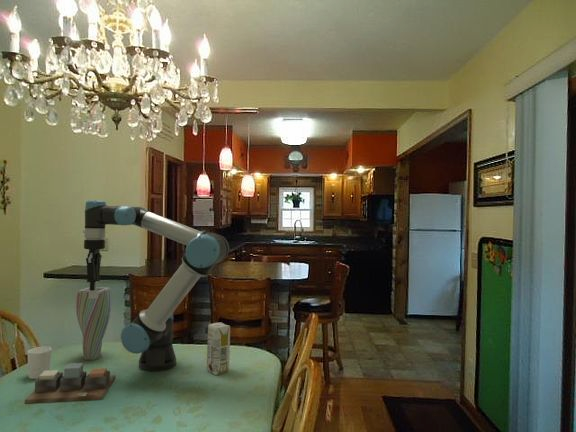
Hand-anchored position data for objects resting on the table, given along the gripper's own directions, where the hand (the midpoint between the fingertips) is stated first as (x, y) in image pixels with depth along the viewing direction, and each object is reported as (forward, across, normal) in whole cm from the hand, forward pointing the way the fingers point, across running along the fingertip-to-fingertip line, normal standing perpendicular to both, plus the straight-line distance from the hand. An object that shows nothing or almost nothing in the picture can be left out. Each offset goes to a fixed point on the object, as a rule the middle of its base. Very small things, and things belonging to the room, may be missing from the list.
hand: (92, 298), depth 161 cm
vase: (+30, -17, -4) cm, 34 cm away
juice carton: (+30, +5, +50) cm, 58 cm away
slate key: (+26, +17, -1) cm, 31 cm away
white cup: (+30, +2, -18) cm, 35 cm away
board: (+29, +17, -1) cm, 34 cm away
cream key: (+28, +17, -9) cm, 34 cm away
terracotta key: (+28, +17, +7) cm, 34 cm away
